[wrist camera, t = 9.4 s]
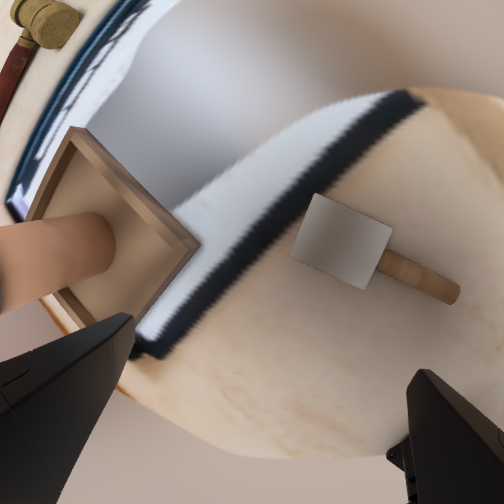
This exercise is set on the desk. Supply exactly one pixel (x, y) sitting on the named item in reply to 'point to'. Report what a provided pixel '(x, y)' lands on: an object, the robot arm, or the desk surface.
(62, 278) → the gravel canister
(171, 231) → the walnut tray
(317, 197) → the mallet
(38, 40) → the gavel
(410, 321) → the desk surface
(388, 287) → the desk surface
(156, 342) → the desk surface
